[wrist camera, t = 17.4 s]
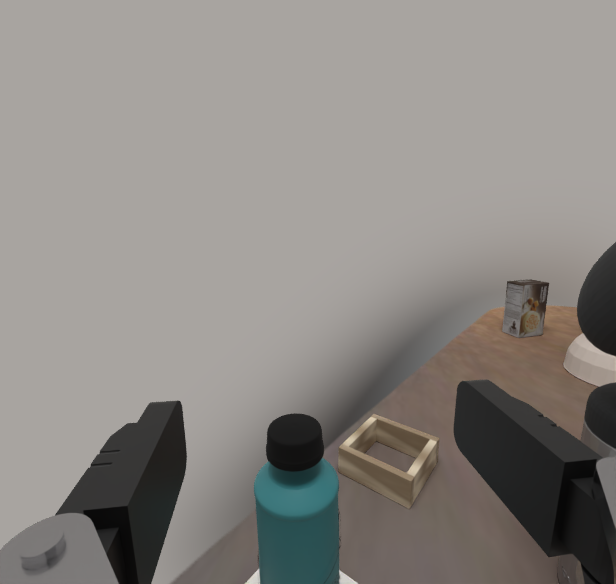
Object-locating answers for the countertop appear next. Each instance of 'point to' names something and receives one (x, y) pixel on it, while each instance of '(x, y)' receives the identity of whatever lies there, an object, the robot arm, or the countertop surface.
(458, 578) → the countertop surface
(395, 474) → the rectangular wooden frame
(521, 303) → the coffee box
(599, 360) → the kettle
